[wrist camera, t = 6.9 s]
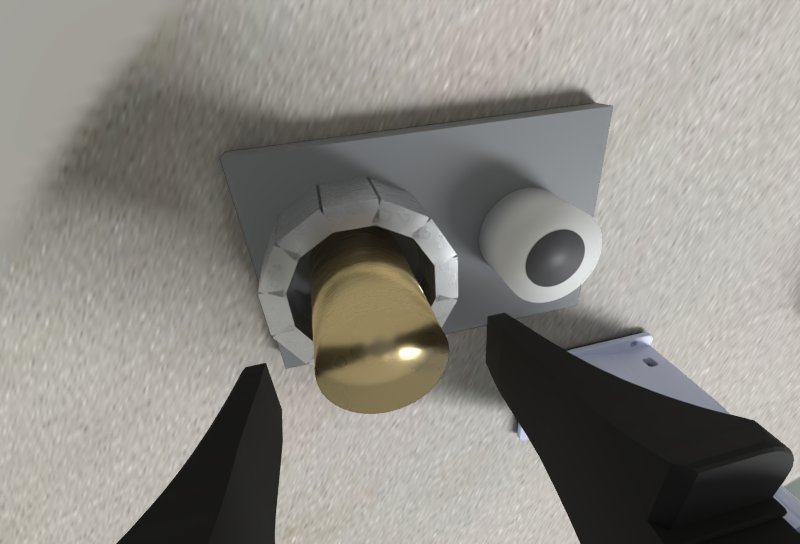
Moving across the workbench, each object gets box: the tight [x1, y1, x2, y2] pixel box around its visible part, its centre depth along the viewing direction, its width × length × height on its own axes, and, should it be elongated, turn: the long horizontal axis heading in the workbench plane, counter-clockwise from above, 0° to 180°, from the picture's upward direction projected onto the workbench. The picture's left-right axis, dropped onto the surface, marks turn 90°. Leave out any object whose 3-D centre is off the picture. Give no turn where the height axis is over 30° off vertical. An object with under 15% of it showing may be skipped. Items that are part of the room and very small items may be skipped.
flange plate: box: [220, 103, 613, 369], centre depth 18 cm, size 17×11×4 cm, turn 95°
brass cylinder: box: [309, 225, 449, 414], centre depth 16 cm, size 4×4×7 cm
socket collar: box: [258, 176, 458, 366], centre depth 17 cm, size 8×8×3 cm
